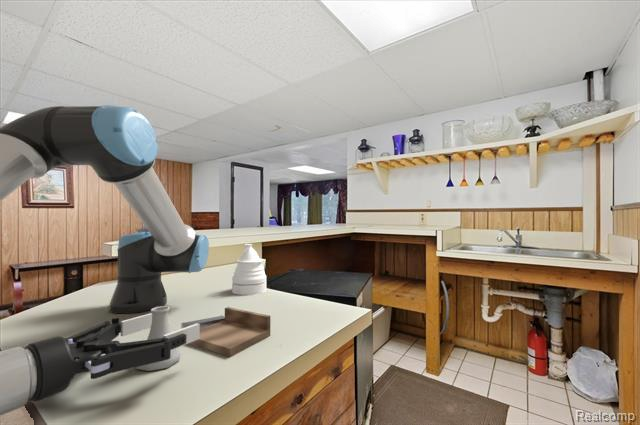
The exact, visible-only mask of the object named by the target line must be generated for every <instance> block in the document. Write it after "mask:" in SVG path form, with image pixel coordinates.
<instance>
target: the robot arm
mask: <svg viewBox="0 0 640 425" xmlns="http://www.w3.org/2000/svg"><path fill="white" fill-rule="evenodd" d="M157 139H158V138H157V136H156V132H155V130H154V128H153V126H152V125H151V123H150V122H149V120H148V119H147V118H146V116H144V114H142V113H140V112H139V111H138V110H136V109H133V108H130V107H128V106H116V105H114V104H113V105H111V104H104V105H103V104H102V105H95V106H94V105H93V106H92V105H91V106H89V105H88V106H87V105H86V106H83V105H82V106H78V105H77V106H63V105H62V106H61V105H60V106H58V105H57V106H56V105H55V106H49V107H45V108H40V109H37V110H35V111H31V112H29V113H27V114H25V115H23V116H20V117H18V118H16V119H14V120H12V121H9V123H6V124H5V125H2V126H1V127H0V202H1V201H3V200H4V199H5V198H7V197H8V196H9V195H10V194H11V193H13V192H14V191H16V190H17V189H18V188H20V186H22V185H23V184H25V183H26V182H27V181H28V180H30V179H32V180H33V179H39V178H42V177H43V176H45V175H46V174H47V173H48V172H50V171H52V170H54V169H57V168H61V167H66V166H90V167H91V168H92V169H93V170H94V172H95V173H96V175H97V176H98V178H100V179H101V181H102V182H105V183H109V184H114V186H115V187H116V188H117V190H118V191H119V193H120V194H121V195H122V197H123V198H124V199H125V201H126V202H127V203H128V205H129V206H130V208H131V209H132V210H133V212H134V213H135V215H136V216H137V217H138V219H139V220H140V221H141V223H142V224H143V225H144V227H145V228H146V230H148V231H145V232H143V231H141V232H135V233H134V232H133V233H127V234H123V235H121V236H120V237H119V239H118V244H117V246H118V247H117V250H116V251H117V283H116V286H115V290H114V292H113V294H112V296H111V299H110V301H109V312H110V313H114V314H134V313H142V312H148V311H151V309H152V308H155V307H161V306H166V305H167V303H168V296H167V292H166V290H165V287H164V284H163V282H162V273H189V274H191V273H200V272H201V271H202V270H203V269H204V268H205V266H206V264H207V262H208V260H209V259H208V258H209V250H210V242H209V238H208V236H207V235H204V234H197V233H196V231H195V230H194V228H193V227H192V226H190V225H188V224H186V223H184V221H183V219H182V218H181V216H180V213H179V212H178V211H177V209H176V206H175V205H174V203H173V202H172V200H171V198H170V196H169V195H168V193H167V190H166V189H165V187H164V186H163V184H162V182H161V180H160V179H159V176H158V175H157V174H156V172H155V170H154V168H153V167H154V165H155V163H156V157H157V155H158V151H159V150H158V149H159V145H158V143H157ZM151 324H152V314H151V312H149V313H146V314H143V315H138V316H137V317H132V318H128V319H125V320H121V321H120V317H114V318H111V321H109V320H106V321H104V322H101V323H99V324H96V325H94V326H92V327H90V328H87V329H85V330H82V331H80V332H78V333H76V334H73V335H71V336H68V337H63V336H59V335H58V336H57V335H56V336H53V337H49V338H45V339H42V340H39V341H36V342H34V341H33V342H31V343H29V344H27V345H26V346H25V348H23V347H21V346H15V347H11V348H8V349H7V348H6V349H3V350H0V416H3V415H5V414H7V413H10V412H13V411H15V410H18V409H20V408H22V407H24V406H26V404H27V403H28V402H31V403H36V402H38V401H41V400H43V399H46V398H49V397H51V396H53V395H56V394H59V393H61V392H63V391H65V390H66V389H67V388H68V387H69V386H70V384H71V381H72V380H73V378H74V377H75V376H76V375H77V374H82V373H87V372H88V373H89V372H90V379H91V380H96V379H99V378H101V377H104V376H108V375H111V374H113V373H117V372H121V371H127V370H130V369H134V368H137V367H139V366H143V365H147V364H151V363H155V362H160V361H164V360H168V359H170V357H171V350H173V349H176V348H178V349H179V348H180V347H182V346H185V345H187V344H189V343H190V342H193V341H195V340H198V339H200V324H198V323H196V324H194V325H191V326H188V327H185V328H182V329H181V328H180V329H177V330H174V331H172V332H171V333H168V334H165V335H163V338H158V339H150V340H147V339H145V340H144V339H143V340H136V341H134V340H133V341H129V342H127V341H126V342H120V341H119V340H114V339H116V338H117V337H119V336H120V337H126V336H128V335H132V334H135V333H140V332H141V331H146V330H147V329H151Z"/></svg>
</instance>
